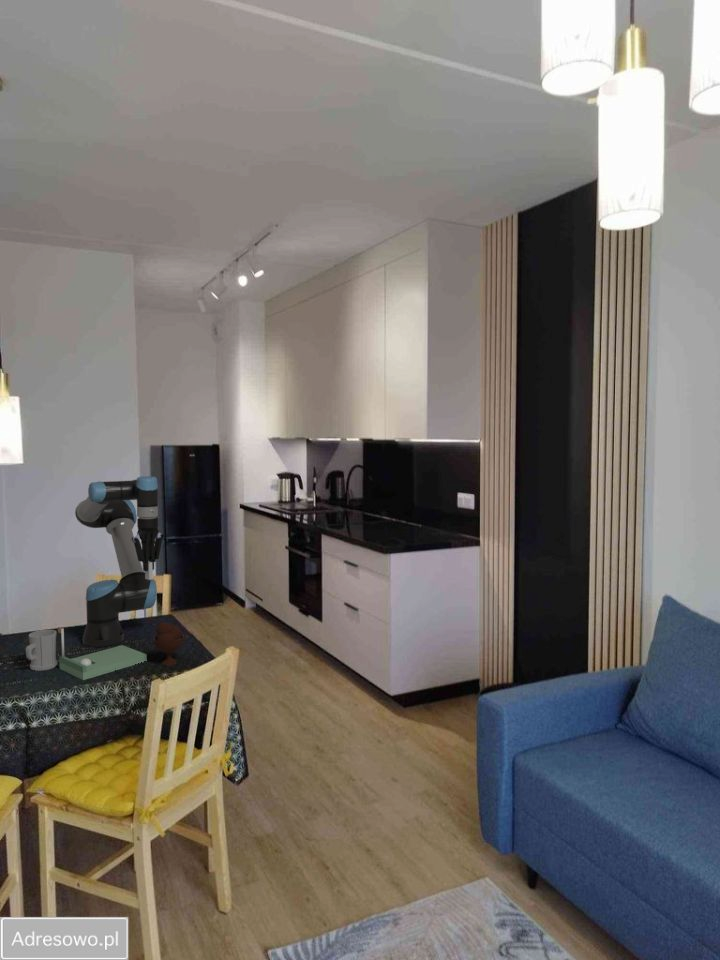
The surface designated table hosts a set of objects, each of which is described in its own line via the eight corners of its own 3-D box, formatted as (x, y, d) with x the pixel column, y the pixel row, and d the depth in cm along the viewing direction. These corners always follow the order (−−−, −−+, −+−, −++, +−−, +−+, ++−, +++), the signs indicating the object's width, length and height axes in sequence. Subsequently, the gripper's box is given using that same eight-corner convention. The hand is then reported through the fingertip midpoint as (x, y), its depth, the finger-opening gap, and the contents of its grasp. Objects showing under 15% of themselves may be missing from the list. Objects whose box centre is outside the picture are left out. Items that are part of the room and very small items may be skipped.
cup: (54, 671, 232) (53, 637, 231) (25, 674, 229) (24, 639, 228) (59, 661, 242) (58, 628, 241) (31, 663, 239) (30, 630, 238)
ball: (77, 669, 232) (77, 658, 232) (88, 666, 235) (88, 655, 235) (82, 673, 230) (82, 662, 229) (94, 669, 233) (93, 658, 232)
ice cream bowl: (168, 670, 233) (168, 628, 232) (146, 664, 239) (146, 623, 238) (191, 661, 242) (190, 620, 241) (169, 656, 248) (169, 616, 247)
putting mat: (57, 668, 235) (56, 627, 234) (120, 650, 253) (119, 613, 252) (83, 680, 224) (82, 637, 223) (146, 661, 242) (145, 621, 241)
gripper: (137, 520, 247) (139, 583, 249) (168, 516, 257) (169, 577, 259) (126, 518, 252) (128, 580, 254) (156, 514, 262) (158, 574, 264)
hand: (148, 578), depth 256 cm, fingers closed
